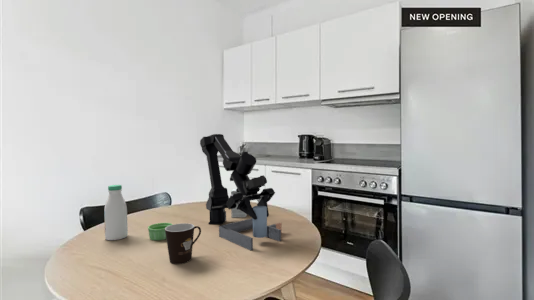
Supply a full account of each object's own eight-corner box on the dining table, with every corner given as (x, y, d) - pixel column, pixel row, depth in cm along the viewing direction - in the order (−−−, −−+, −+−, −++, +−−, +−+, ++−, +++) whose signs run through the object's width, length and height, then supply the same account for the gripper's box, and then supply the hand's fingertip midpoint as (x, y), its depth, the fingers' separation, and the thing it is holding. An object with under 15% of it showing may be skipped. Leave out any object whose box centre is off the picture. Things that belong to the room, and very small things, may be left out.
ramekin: (143, 237, 110) (143, 226, 110) (166, 232, 117) (165, 221, 117) (155, 243, 104) (154, 230, 104) (177, 236, 111) (177, 225, 111)
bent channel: (251, 250, 95) (250, 238, 95) (219, 236, 110) (218, 225, 110) (293, 236, 108) (293, 226, 108) (259, 225, 123) (259, 216, 123)
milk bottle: (132, 235, 113) (130, 184, 112) (114, 241, 106) (112, 187, 105) (118, 233, 116) (117, 183, 115) (100, 239, 109) (98, 186, 108)
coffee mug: (168, 268, 83) (167, 233, 83) (163, 257, 90) (162, 225, 90) (208, 259, 88) (207, 227, 88) (200, 250, 96) (200, 220, 96)
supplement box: (246, 217, 137) (246, 190, 136) (231, 217, 137) (230, 191, 137) (248, 213, 144) (247, 188, 144) (233, 213, 144) (232, 188, 144)
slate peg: (252, 237, 100) (251, 208, 99) (253, 233, 105) (253, 205, 104) (266, 237, 99) (266, 209, 99) (267, 233, 104) (267, 205, 104)
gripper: (230, 170, 98) (250, 208, 90) (271, 166, 110) (292, 200, 102) (218, 190, 104) (236, 228, 96) (258, 185, 116) (277, 217, 108)
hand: (262, 217), depth 101 cm, fingers closed on slate peg, 5 cm apart
